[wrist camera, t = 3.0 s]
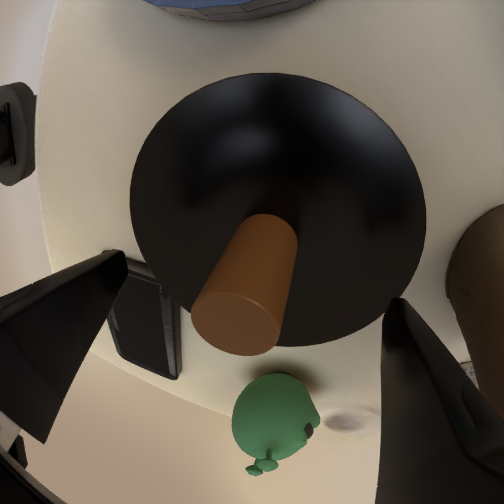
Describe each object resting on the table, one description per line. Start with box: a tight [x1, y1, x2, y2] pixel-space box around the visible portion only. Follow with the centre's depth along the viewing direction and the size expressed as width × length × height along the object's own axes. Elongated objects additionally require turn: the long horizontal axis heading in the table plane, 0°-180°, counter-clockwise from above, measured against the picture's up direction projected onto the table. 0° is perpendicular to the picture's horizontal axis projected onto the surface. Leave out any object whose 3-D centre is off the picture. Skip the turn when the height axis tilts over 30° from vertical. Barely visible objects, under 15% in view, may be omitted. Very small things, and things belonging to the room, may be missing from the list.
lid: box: [130, 73, 426, 356], centre depth 9 cm, size 12×12×6 cm
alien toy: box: [232, 373, 320, 476], centre depth 21 cm, size 7×8×10 cm
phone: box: [101, 251, 181, 380], centre depth 24 cm, size 8×1×15 cm
